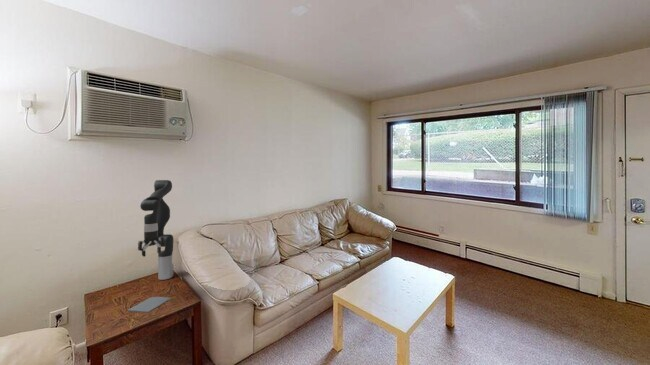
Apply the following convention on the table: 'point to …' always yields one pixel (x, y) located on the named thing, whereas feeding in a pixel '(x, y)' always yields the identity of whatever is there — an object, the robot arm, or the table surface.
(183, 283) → the table surface
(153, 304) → the mat
